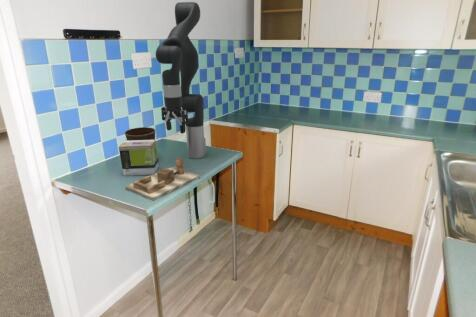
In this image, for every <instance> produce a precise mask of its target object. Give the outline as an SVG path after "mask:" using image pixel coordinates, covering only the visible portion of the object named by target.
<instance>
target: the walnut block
mask: <svg viewBox="0 0 476 317" xmlns="http://www.w3.org/2000/svg"><path fill="white" fill-rule="evenodd" d="M175 165H176V168H177V171H176V172H174V170H171V169H168V168H167V167H166V168H162V169H160V170H157V171H156V173H157V177H158V183H159V182H161V181H165V183H166V185H168V184H169V183H171V182H173V181H174V175H176V174H178V175H182V174H184V170H185V168H184V167H185V166H184V159H183V158H182V157H177V158H176V159H175Z"/></svg>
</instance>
